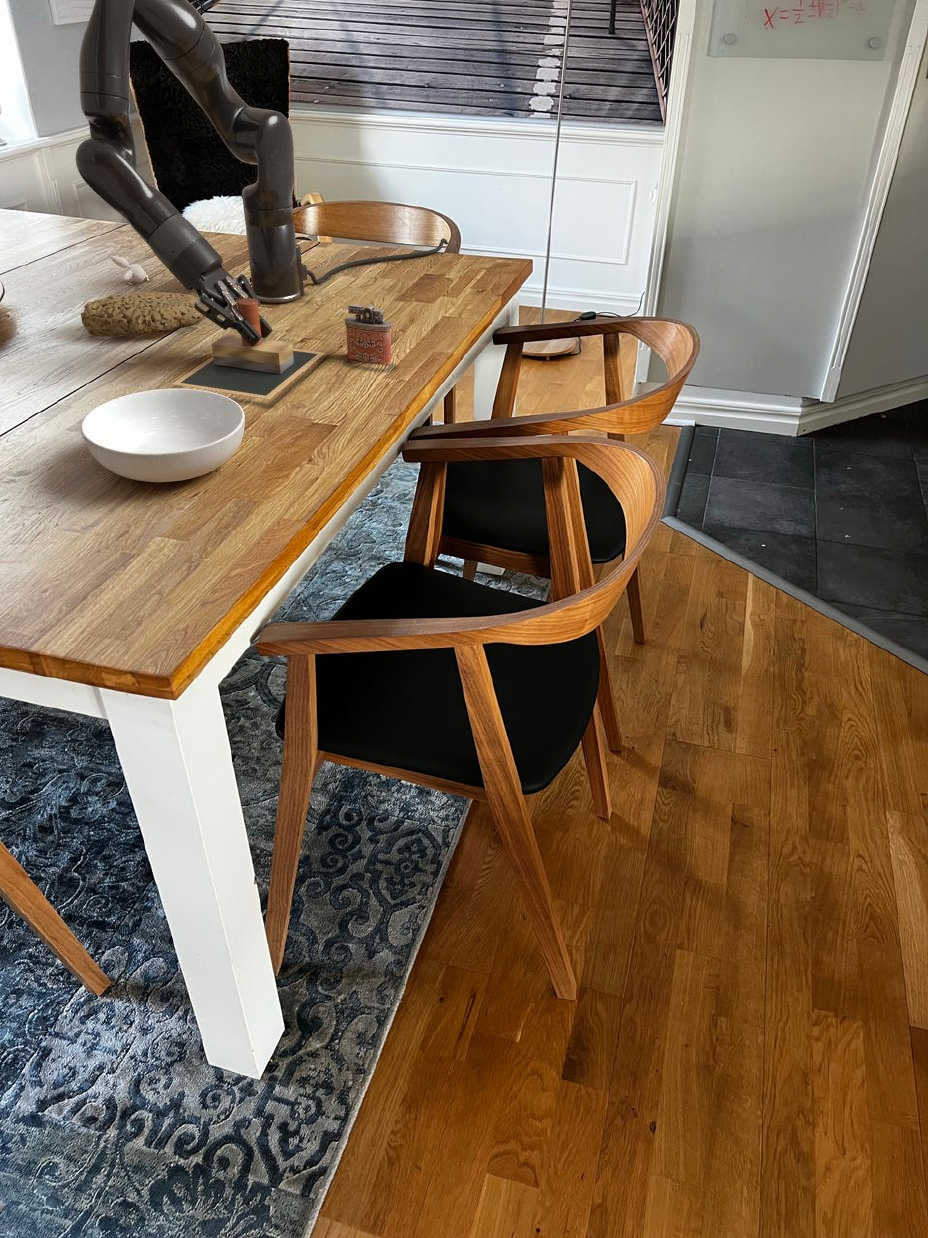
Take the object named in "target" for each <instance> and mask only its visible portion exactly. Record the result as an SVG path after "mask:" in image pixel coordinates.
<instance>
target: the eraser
mask: <svg viewBox="0 0 928 1238" xmlns="http://www.w3.org/2000/svg"><path fill="white" fill-rule="evenodd" d="M236 301H237V302H236V303H237V305H238V310H239V312H240V313H241V315H242V316H243V317H244V320H247V321H248V322H249V324H250V325H251V326H252V327H253V328H254V329H255V330H256V331H257V332H258V333H259V335H260V336H261V328H260V318H259V314H260V310H259V306H258V301H257V300H256V299H252V298H245V299H240V298H239V299H237V300H236ZM244 320H243V321H244ZM293 348H294V347H293V342H287V341H281V340H273V339H266V338H262V337H261V340H260V341H259V342H258V343H257V344H256V345H255V346H251V345H250V344H249V343H248V342H247V341H246V340H245V339H244V338H243V337H242V336H241V335H237V334H230V333H226V334H224V335H223V336H222V337H220V338H218V339H217V340H215V341H214V342H212V343H211V351H212V356H213V357H214V364H215V365H221V366H228V367H235V368H242V369H249V370H256V371H263V372H270V373H277V374H281V373H283V372H284V371H285V370H286V369H288V368H289V367H290V366H292V365H293V364H294V357H293Z"/></svg>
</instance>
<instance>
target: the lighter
mask: <svg viewBox="0 0 928 1238" xmlns="http://www.w3.org/2000/svg"><path fill="white" fill-rule="evenodd" d="M347 313H348V314H351V315H355V316H348V317H346V318H344V325H345V331H346V332H345V333H346V349H347V358H348V359H350V360H354V361H359V362H363V363H371V364H384V365H387V364H391V362H392V346H391V345H392V343H391V330H392V322H390V321H387V320H384V317H385V310H384V309H382V308H376V306H375V305H373V304H369V305H367V306H364V305H359V304H354V303H351V304H349V305H348V306H347ZM392 369H393V364H391V365H390V366H389V367H388V368H386V370H385V371H386V372H387V371H391V370H392Z"/></svg>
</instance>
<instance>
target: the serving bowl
mask: <svg viewBox="0 0 928 1238" xmlns="http://www.w3.org/2000/svg"><path fill="white" fill-rule="evenodd" d="M243 409H244V408H242V406H241V405H240V404H239V403H237V402H236V401H235V400H234V399H232V398H230V397H228V396H225V395H223V394H220V393H217V392H214V391H210V390H204V389H197V388H159V389H150V390H142V391H138V392H133V393H128V394H125V395H122V396H121V395H120V396H118V397H116V398H113V399H110V400H107V401H105V402H103V403H101V404H99V405H98V406H96V407H94V408H93V409H92V410H90V412H88V413H87V414H86V415H85V416H84V418H82V421H81V423H80V433H81V435H82V438H83V440H84V444H85V445H86V447H87V449H88V450H89V452H90V453H91V455H92V456H93V458H94V459H95V460H96V461H97V462H98V463H99V464H101V466H103V467H104V468H106V469H107V470H109V471H111V472H112V473H114V474H116V475H119V476H121V477H123V478H127V479H130V480H135V481H140V482H149V483H170V482H178V481H179V482H180V481H184V480H190V479H194V478H197V477H201V476H204V475H206V474H209V473H210V472H212V471H215V470H217V469H218V468H221V466H222V465H224V464H225V463H227V462H228V461H229V460H230V459H231V458H232V457H233V456H234V455H235V453H236V452H237V450H238V449H239V447H240V445H241V443H242V441H243V437H244V434H245V422H246V415H245V411H244V410H243Z"/></svg>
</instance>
